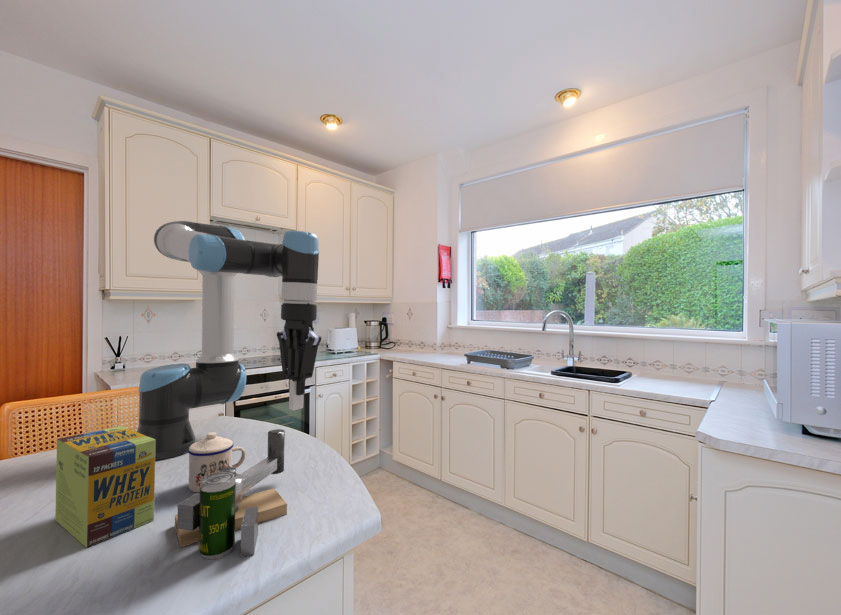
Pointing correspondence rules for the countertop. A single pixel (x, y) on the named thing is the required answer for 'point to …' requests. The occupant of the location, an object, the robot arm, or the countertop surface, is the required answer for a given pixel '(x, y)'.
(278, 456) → the lever
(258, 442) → the countertop surface
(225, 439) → the teacup with lid
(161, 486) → the countertop surface
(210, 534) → the green drink can
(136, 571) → the countertop surface
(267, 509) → the press bench
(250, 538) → the pivot and anvil
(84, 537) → the protein box
